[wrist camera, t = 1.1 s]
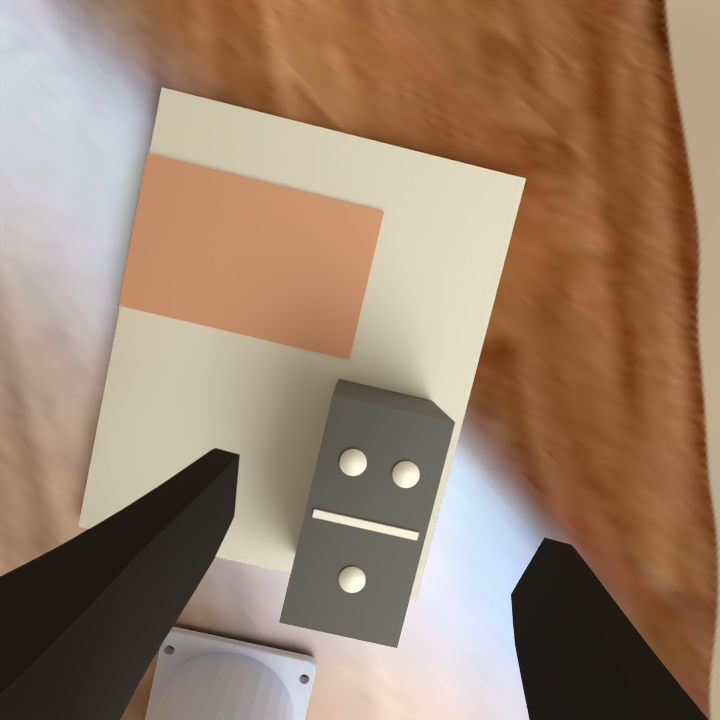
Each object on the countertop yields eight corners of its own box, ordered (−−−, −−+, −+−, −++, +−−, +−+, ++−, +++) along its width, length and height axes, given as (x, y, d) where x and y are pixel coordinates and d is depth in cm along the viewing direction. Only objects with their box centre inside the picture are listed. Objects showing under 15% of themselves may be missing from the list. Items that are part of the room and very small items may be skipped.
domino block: (387, 575, 20) (397, 649, 15) (297, 554, 20) (278, 623, 15) (431, 400, 19) (455, 422, 14) (338, 378, 19) (332, 394, 14)
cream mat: (414, 593, 20) (416, 603, 20) (86, 520, 20) (75, 528, 19) (520, 183, 19) (527, 177, 18) (168, 95, 18) (159, 85, 18)
